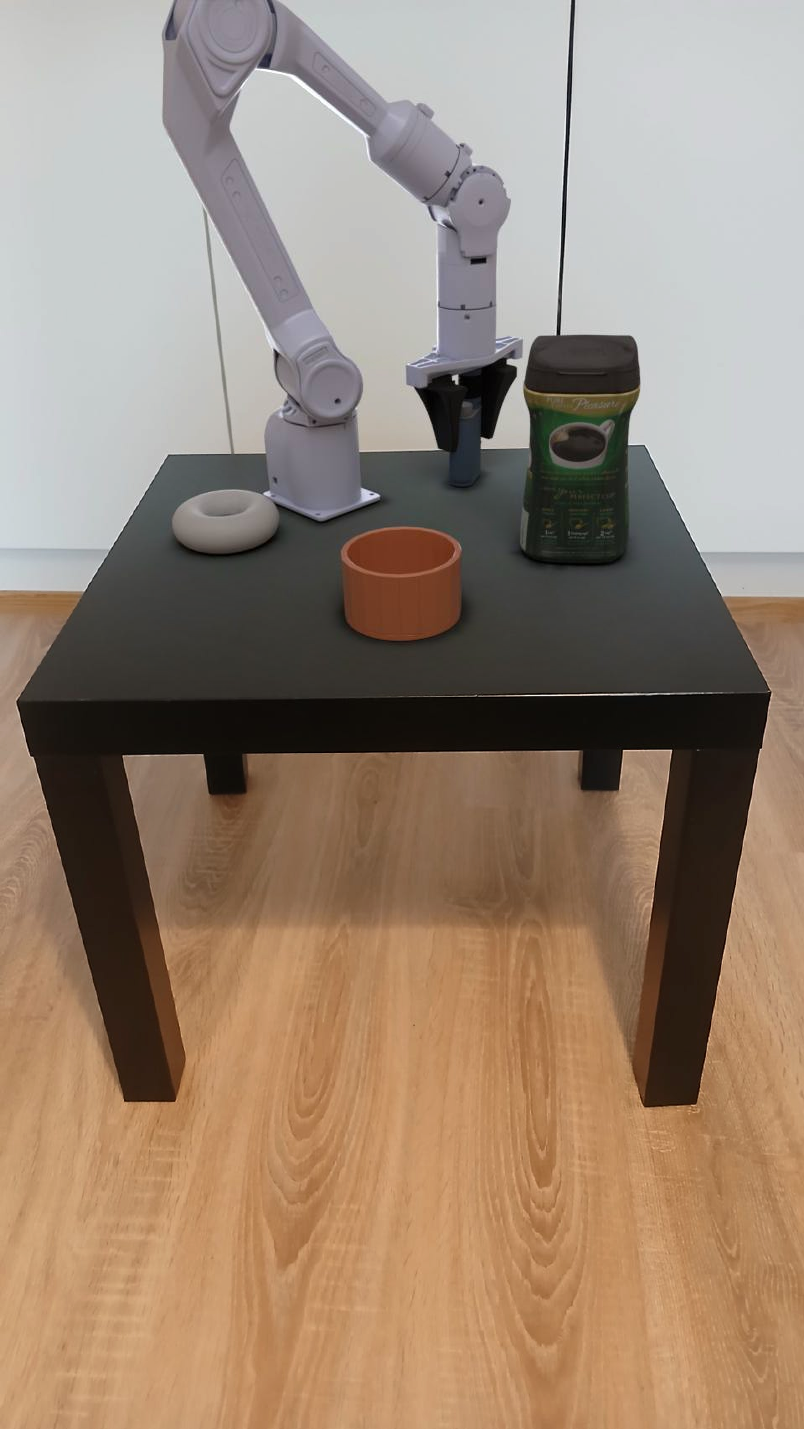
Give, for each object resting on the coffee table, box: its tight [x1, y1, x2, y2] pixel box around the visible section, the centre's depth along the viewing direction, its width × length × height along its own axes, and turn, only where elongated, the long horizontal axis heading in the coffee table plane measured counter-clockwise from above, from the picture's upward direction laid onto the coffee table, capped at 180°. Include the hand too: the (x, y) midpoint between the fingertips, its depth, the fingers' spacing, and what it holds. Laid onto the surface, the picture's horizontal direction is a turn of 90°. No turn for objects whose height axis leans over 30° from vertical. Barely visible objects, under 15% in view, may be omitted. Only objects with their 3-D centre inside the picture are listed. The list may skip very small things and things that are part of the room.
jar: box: [340, 526, 463, 642], centre depth 84 cm, size 9×9×6 cm
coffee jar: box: [519, 334, 642, 564], centre depth 90 cm, size 10×8×19 cm
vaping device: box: [448, 368, 483, 488], centre depth 107 cm, size 3×5×12 cm, turn 161°
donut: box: [171, 489, 281, 555], centre depth 98 cm, size 10×3×10 cm
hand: (465, 443), depth 108 cm, fingers closed on vaping device, 5 cm apart
